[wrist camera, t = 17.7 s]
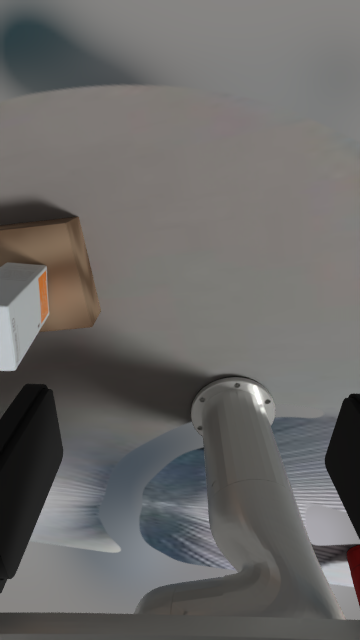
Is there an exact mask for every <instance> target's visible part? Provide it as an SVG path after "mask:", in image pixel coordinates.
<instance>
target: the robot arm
mask: <svg viewBox="0 0 360 640" xmlns="http://www.w3.org/2000/svg"><path fill="white" fill-rule="evenodd" d="M274 417H275V404H274V401H273V399H272V396H271V395H270V393H269V391H268V390H267V389H266V388H265V387H264V386H262V385H261V384H259V383H258V382H255V381H253V380H251V379H246V378H240V377H230V378H224V379H220V380H217V381H214V382H212V383H210V384H208V385H207V386H205V387H204V388H203V389H202V390H201V391H200V392H199V393H198V394H197V395H196V397H195V398H194V400H193V403H192V407H191V419H192V423H193V425H194V428H195V429H196V430H197V432H198V433H199V434H200V435H201V436H203V442H204V456H205V470H206V483H207V497H208V513H209V523H210V529H211V532H212V536H213V538H214V540H215V542H216V544H217V546H218V548H219V549H220V551H221V552H222V554H223V555H224V556H225V558H226V559H227V560H228V561H229V562H230V564H231V565H232V566H233V567H234V568H235V569H236V570H237V571H238V572H239V573H236V574H231V575H226V576H224V577H218V578H211V579H205V580H197V581H190V582H182V583H177V584H170V585H166V586H162V587H158V588H156V589H153V590H152V591H150V592H149V593H147V594H146V595H145V596H144V597H143V598H142V599H141V600H140V602H139V604H138V606H137V608H136V610H135V613H134V614H105V613H0V640H360V620H346V618H345V616H344V614H343V612H342V610H341V608H340V606H339V604H338V602H337V600H336V598H335V596H334V594H333V592H332V590H331V588H330V585H329V583H328V581H327V579H326V577H325V575H324V573H323V571H322V569H321V566H320V564H319V562H318V560H317V557H316V555H315V553H314V550H313V548H312V545H311V543H310V540H309V538H308V535H307V532H306V529H305V527H304V524H303V521H302V518H301V515H300V512H299V509H298V506H297V503H296V500H295V498H294V494H293V491H292V488H291V485H290V482H289V480H288V477H287V474H286V471H285V468H284V465H283V462H282V459H281V456H280V453H279V450H278V447H277V444H276V441H275V438H274V435H273V432H272V429H271V424H272V423H273V420H274ZM62 457H63V446H62V441H61V435H60V430H59V424H58V418H57V413H56V407H55V401H54V396H53V391H52V390H51V389H48V388H47V386H46V385H44V384H26V385H25V386H24V387H23V388H22V390H21V391H20V392H19V394H18V395H17V397H16V398H15V399H14V401H13V402H12V403H11V405H10V406H9V408H8V409H7V410H6V412H5V413H4V415H3V416H2V417H1V419H0V593H1V592H2V590H3V588H4V585H5V583H6V581H7V579H11V578H13V577H14V575H15V573H16V571H17V569H18V567H19V564H20V562H21V559H22V556H23V554H24V552H25V549H26V547H27V544H28V542H29V540H30V537H31V535H32V532H33V530H34V527H35V525H36V522H37V520H38V518H39V515H40V513H41V510H42V508H43V505H44V503H45V500H46V498H47V496H48V493H49V491H50V488H51V486H52V483H53V481H54V478H55V476H56V473H57V471H58V469H59V466H60V464H61V461H62ZM325 465H326V469H327V471H328V473H329V475H330V477H331V480H332V482H333V484H334V486H335V488H336V490H337V492H338V494H339V497H340V499H341V501H342V503H343V505H344V507H345V509H346V511H347V514H348V516H349V518H350V520H351V522H352V524H353V526H354V528H355V531H356V533H357V535H358V537H359V539H360V394H350V395H349V397H348V398H345V399H344V401H343V403H342V406H341V409H340V412H339V416H338V419H337V422H336V425H335V428H334V431H333V434H332V437H331V440H330V444H329V447H328V450H327V453H326V456H325Z"/></svg>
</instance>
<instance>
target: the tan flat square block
mask: <svg viewBox="0 0 360 640" xmlns="http://www.w3.org/2000/svg"><path fill="white" fill-rule="evenodd" d="M7 262H9V263H21V264H33V265H45V266H47V288H48V304H49V316H48V317H47V319H46V321H45V322H44V324H43V326H42V327H41V329H40V331H39V332H45V331H56V330H66V329H77V328H88V327H92V326H93V325H94V323H95V321H96V319H97V317H98V316H99V314H100V312H101V309H100V305H99V301H98V296H97V292H96V288H95V284H94V280H93V275H92V271H91V267H90V263H89V258H88V254H87V250H86V246H85V242H84V237H83V233H82V229H81V225H80V221H79V217H71V218H62V219H53V220H44V221H36V222H27V223H18V224H9V225H0V267H1V266H3V265H4V264H5V263H7Z"/></svg>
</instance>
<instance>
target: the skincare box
mask: <svg viewBox="0 0 360 640" xmlns="http://www.w3.org/2000/svg"><path fill="white" fill-rule="evenodd" d="M48 316H49V304H48V288H47V266H45V265H33V264H21V263H9V262H7V263H5V264H4V265H3V266H1V267H0V371H15V370H16V369H17V367H18V365H19V364H20V362H21V360H22V359H23V357H24V355H25V354H26V352H27V350H28V349H29V347H30V345H31V344H32V342H33V341H34V339H35V337H36V336H37V334H38V332H39V331H40V329H41V327H42V326H43V324H44V322H45V321H46V319H47V317H48Z"/></svg>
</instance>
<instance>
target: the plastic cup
mask: <svg viewBox="0 0 360 640" xmlns="http://www.w3.org/2000/svg"><path fill="white" fill-rule="evenodd" d="M347 560H348V563H349V567H350V571H351V576H352V580H353V584H354V587H355V591H356V595H357V598H358V602H359V606H360V545H357V546H354V547H352V548H351V549H349V550H348V552H347Z"/></svg>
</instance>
